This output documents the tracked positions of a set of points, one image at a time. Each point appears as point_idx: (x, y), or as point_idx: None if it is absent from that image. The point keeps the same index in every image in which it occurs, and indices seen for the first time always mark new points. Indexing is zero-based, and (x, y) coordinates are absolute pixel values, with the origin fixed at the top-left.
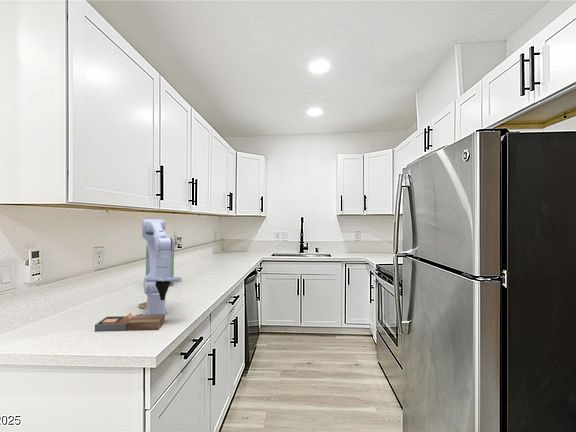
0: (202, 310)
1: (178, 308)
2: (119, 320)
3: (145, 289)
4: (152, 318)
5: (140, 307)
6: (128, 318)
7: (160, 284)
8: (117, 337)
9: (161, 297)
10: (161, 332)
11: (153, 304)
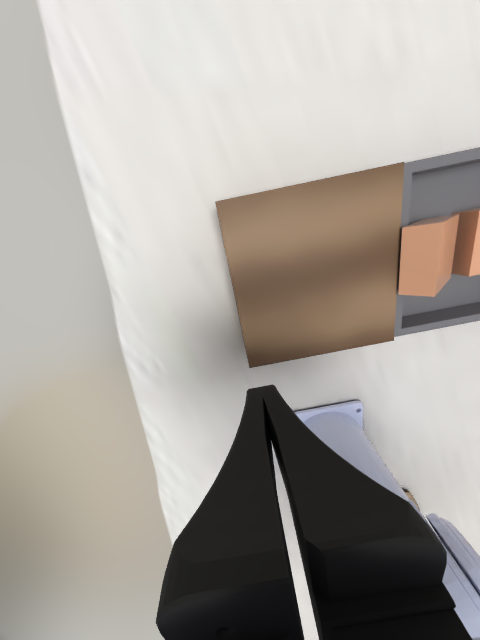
0: (165, 499)
1: None
2: (451, 309)
3: (472, 548)
4: (281, 279)
5: (407, 493)
6: (416, 225)
7: (321, 547)
8: (387, 19)
9: (269, 398)
10: (178, 161)
11: (348, 453)
